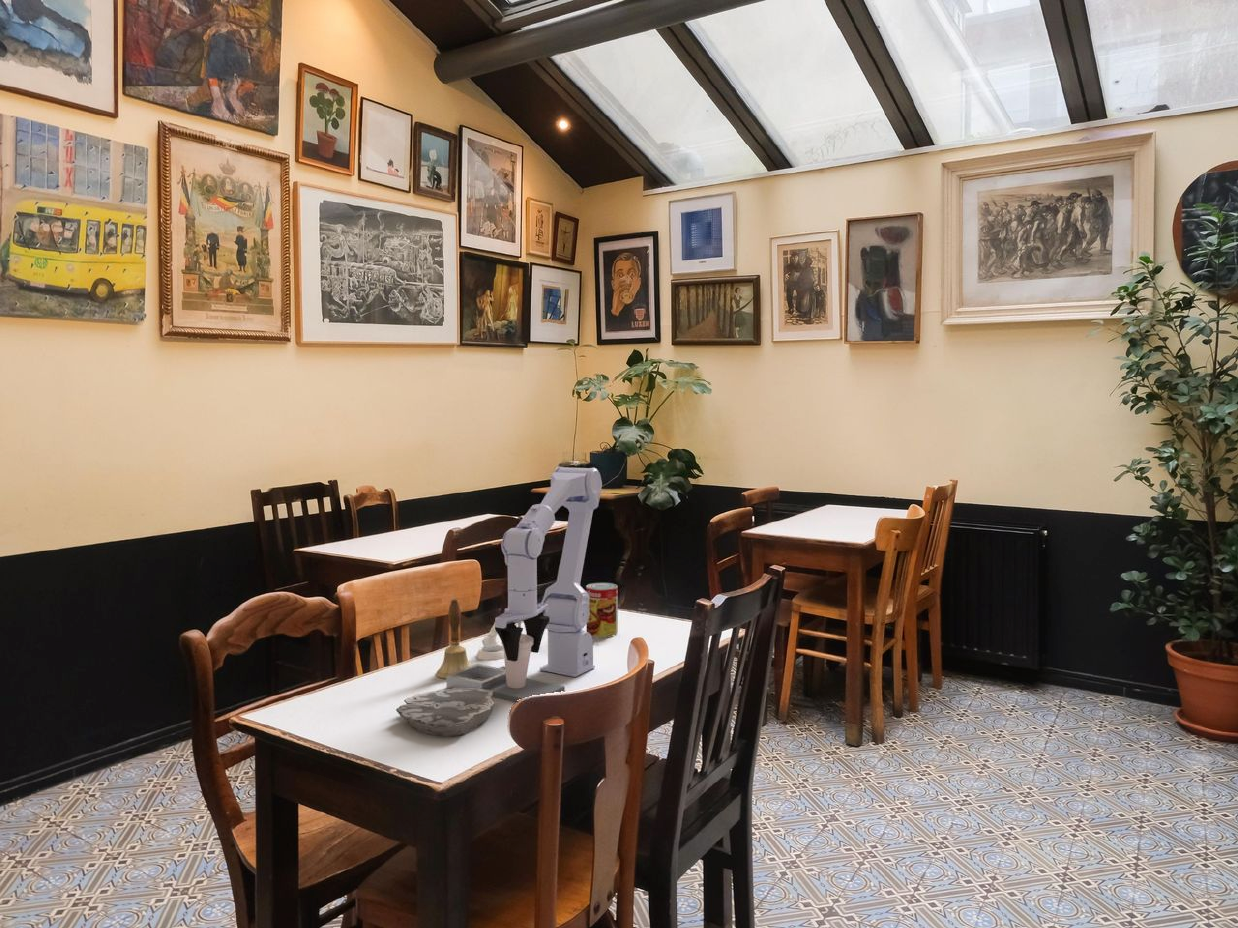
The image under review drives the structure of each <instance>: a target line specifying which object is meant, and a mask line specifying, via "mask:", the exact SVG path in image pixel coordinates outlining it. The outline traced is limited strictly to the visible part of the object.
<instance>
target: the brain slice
mask: <svg viewBox="0 0 1238 928" xmlns="http://www.w3.org/2000/svg"><path fill="white" fill-rule="evenodd" d="M493 698H494V697H493V691H491V690H486V689H474V688H452V689H450V688H446V689H439V690H436V691H434V690H433V691H428V692H423V693H419V694H415V695H412V696H410V697H407V698H406V699H404V701H403V702H405V704H402V705H400V706H399V707H397V708H396V709H395V711H396V713H398V715H399V716H400V717H401V718H402V719H403V720H405V721H407V722H408V723H409V725H410V726H411V727H413V728H415V729H416V730H417V731H418V732H421V733H422V734H424V733H425V734H426V735H429V736H431V735H432V736H437V735H440V736H441V737H445V738H448V737H459V736H461V734H462V735H463V734H464V735H466V734H468V733H469V732H470V731H472V730H474V729H475V727H476V726H477V727H479V726H481V725H482V724H483V723H485V722H486V721H487V720H488V719H489V717H491V715H492V714H493V711H494V710H493V709H494V706H495V701H494V699H493ZM480 724H481V725H480ZM478 725H479V726H478ZM477 727H476V728H477ZM473 728H474V729H473ZM471 729H472V730H471ZM469 730H470V731H469ZM468 731H469V732H468ZM465 733H466V734H465Z"/></svg>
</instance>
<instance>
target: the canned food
mask: <svg viewBox="0 0 1238 928" xmlns="http://www.w3.org/2000/svg"><path fill="white" fill-rule="evenodd" d="M585 587H586V590H585V591H586V592H587V594H588V595H589V597H590V600H589V611H590V613H589V619H588V622H587V624H586V625H585V626H586V631H585V632H588V633H590V634H591V636H592V638H608V636H611V637H614V636H613V635H615V636H616V634H617V633H618V632H619V626H618V625H619V623H618V622H619V621H618V620H619V617H618V616H619V615H618V614H619V611H618V609H619V607H618V606H619V605H618V602H619V600H618V599H619V598H618V597H619V596H618V594H619V593H618V591H619V588H618V585H617V584H615V583H613V582H593V583H588V584H587V585H585ZM617 635H618V634H617Z"/></svg>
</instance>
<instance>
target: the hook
mask: <svg viewBox="0 0 1238 928" xmlns="http://www.w3.org/2000/svg"><path fill="white" fill-rule="evenodd" d="M481 643H482V646H481V647H479V649H478V650H477V653H476V655H475V657H476V658H477V657H478V658H477V659H479V660H484V661H498V660H504V650H503V645H502V644H498V643H499V640H498V633H497V632H496V630H495V622H494V623H493V625H492V627H491V629H490V630H489V633H488V634H487V635H486V636H484V638H483V639H482V641H481ZM486 651H487V652H486Z"/></svg>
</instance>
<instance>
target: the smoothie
mask: <svg viewBox="0 0 1238 928" xmlns="http://www.w3.org/2000/svg"><path fill="white" fill-rule="evenodd" d="M517 627H520V628H522V621H520V622H517ZM533 644H534V643H533V637H531V636H529V635H527V634H525V633H521V637H520V641H519V652H518V659H517V661H515V662H514V661H509V660H507V657H506V653H505V650H504V646H503V650H504V659H503V660H504V667H505V671H506V682H507V686H508V687H510V688H522V687H524V686H525V683H526V678H527V676H528V669H529V665H530V658H531V653H532V652H531V646H532V645H533ZM500 645H503V643H502V641H501V643H500Z"/></svg>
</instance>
